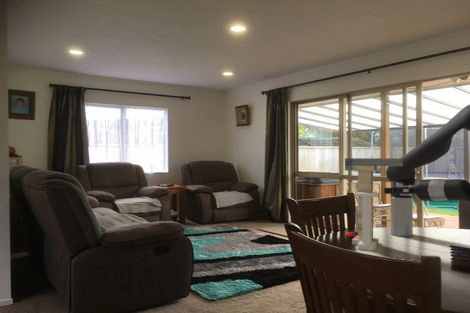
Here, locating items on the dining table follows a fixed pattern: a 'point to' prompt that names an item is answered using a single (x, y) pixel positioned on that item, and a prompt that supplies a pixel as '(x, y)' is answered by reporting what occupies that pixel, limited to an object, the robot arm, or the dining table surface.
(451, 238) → the dining table surface
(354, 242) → the tall stand
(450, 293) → the dining table surface
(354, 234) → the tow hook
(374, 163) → the hook bar
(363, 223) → the rest post
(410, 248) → the dining table surface
